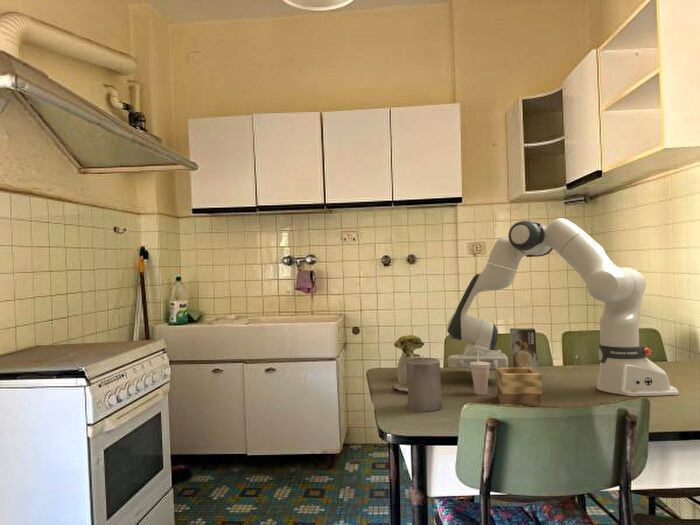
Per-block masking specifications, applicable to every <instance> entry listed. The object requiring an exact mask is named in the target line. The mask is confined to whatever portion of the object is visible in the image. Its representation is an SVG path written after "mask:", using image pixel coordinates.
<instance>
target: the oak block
mask: <svg viewBox="0 0 700 525" xmlns="http://www.w3.org/2000/svg"><path fill="white" fill-rule="evenodd" d="M542 381H543V378H542V373H540V372H539V371H536V370H535V369H534V368H532V367H523V368H512V367H508V368H496V369H495V386H496V388H497V387H498V388H499V390H500V391H501V392H502V393H503V394H540V395H542V394H543V383H542Z"/></svg>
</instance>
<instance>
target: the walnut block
mask: <svg viewBox="0 0 700 525" xmlns="http://www.w3.org/2000/svg"><path fill="white" fill-rule="evenodd" d="M496 397H497V400H498V402H499V404H511V405H523V406H522V407H530V406H542V403H541V402H542V401H541V400H542V399H541V394H503V393H502V392H501V391H500V390H499V388H498V387H497V386H496Z"/></svg>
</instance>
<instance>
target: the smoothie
mask: <svg viewBox="0 0 700 525" xmlns="http://www.w3.org/2000/svg"><path fill="white" fill-rule="evenodd" d="M470 367H471V370H470V371H471V377H472V382H473V389H474V394H475V395H479V396H484V395H488V384H489V374H490V369H489V367H490V363H488V362H479V350H478V349H477V362H471V363H470Z"/></svg>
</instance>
